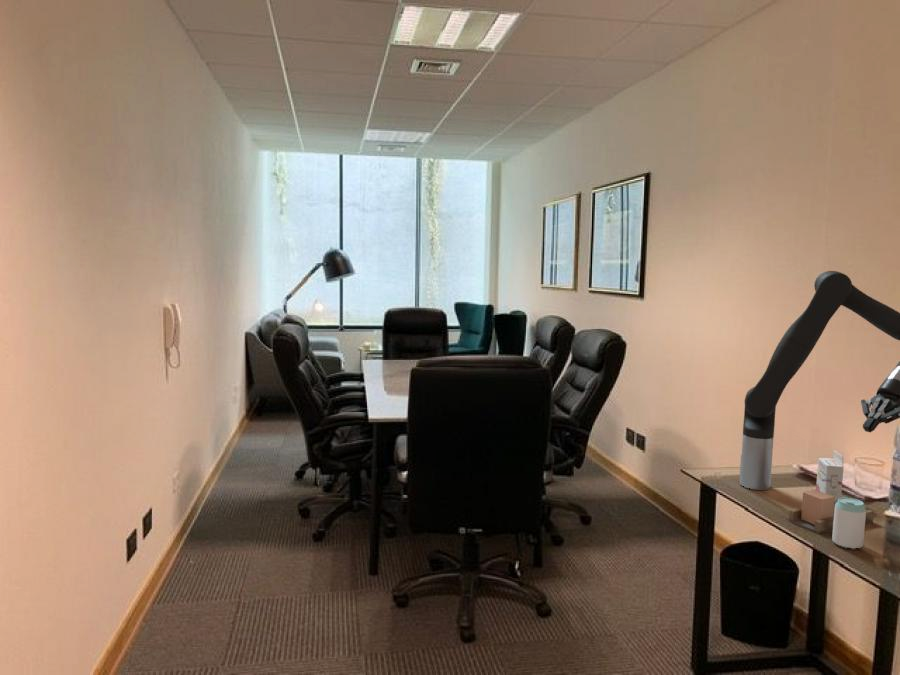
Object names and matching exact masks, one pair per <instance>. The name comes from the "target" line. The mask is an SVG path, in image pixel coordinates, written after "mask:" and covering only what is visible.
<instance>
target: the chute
mask: <svg viewBox="0 0 900 675" xmlns="http://www.w3.org/2000/svg"><path fill="white" fill-rule="evenodd" d="M837 502H838V501H836V502H834V509H835V504H836V503H837ZM874 512H875V511H874V510H871V509H866V518H865V525H866V524H867V525H868V524H872V523H873V521H874ZM788 514H789V517H788V522H790V523H792V524H794V525H797V526H799V527H801V528H803V529H806V530H809V531H811V532H813V533H815V534H817V535H819V534H825V533H829V532H833V522H834V512H833V517H832V518H827V519H822V520H817V521H815V525H814V524H812V523H809V522H807V521H804V520H802V519H801V514H802V507H800V508H794V509H789V513H788Z"/></svg>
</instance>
